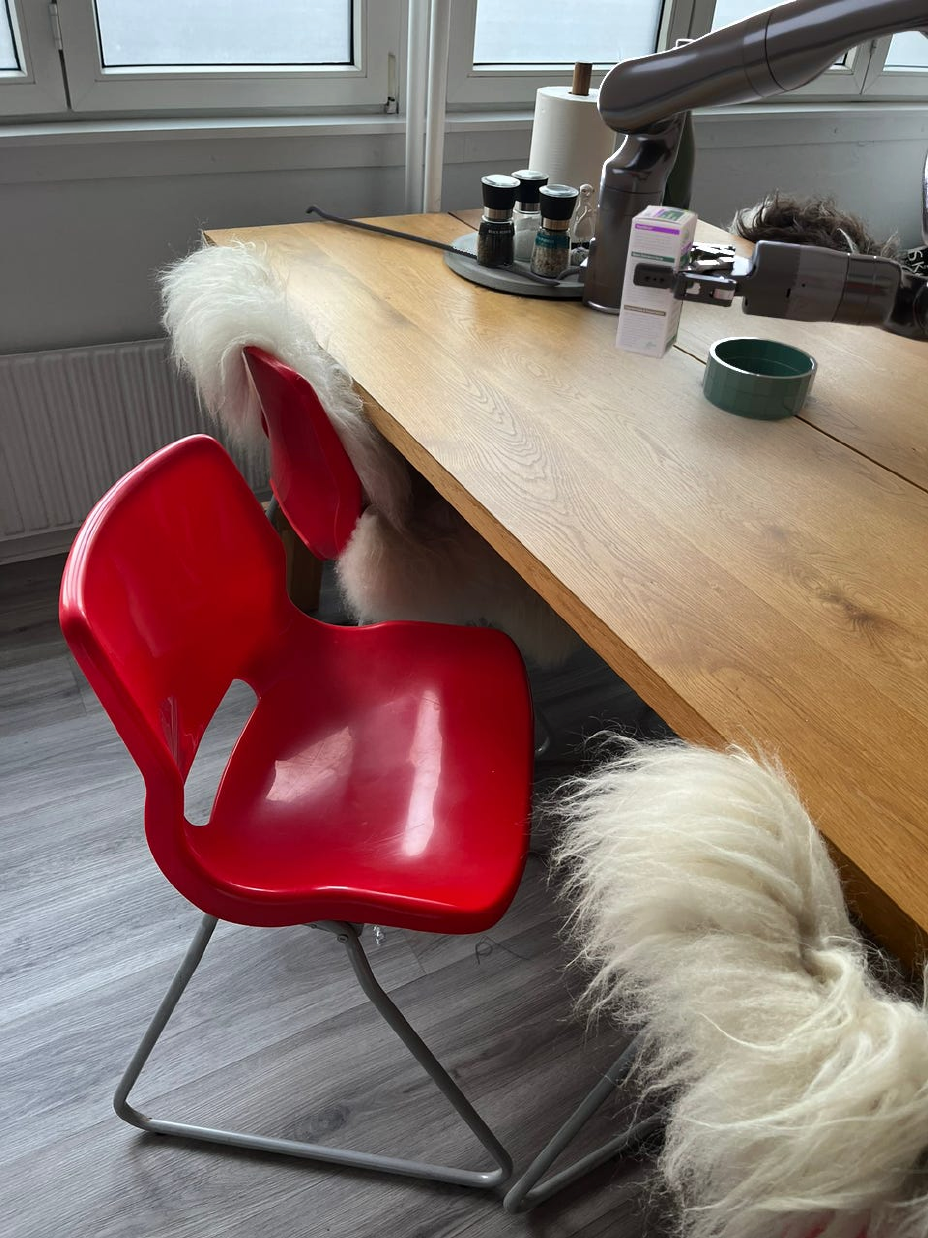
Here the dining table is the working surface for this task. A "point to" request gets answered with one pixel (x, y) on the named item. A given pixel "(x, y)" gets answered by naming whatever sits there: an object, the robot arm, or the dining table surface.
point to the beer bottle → (682, 163)
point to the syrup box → (653, 310)
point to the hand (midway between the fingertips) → (637, 263)
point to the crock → (758, 377)
